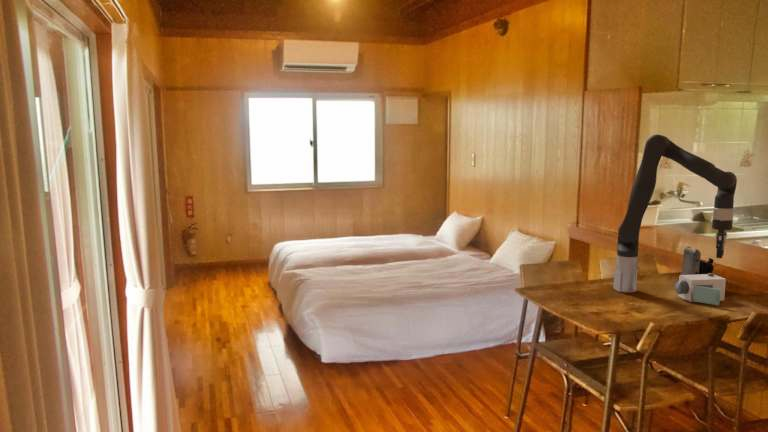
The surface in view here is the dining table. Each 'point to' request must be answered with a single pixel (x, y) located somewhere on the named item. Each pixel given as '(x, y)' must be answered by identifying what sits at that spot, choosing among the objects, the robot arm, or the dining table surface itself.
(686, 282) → the camera body
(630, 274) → the robot arm
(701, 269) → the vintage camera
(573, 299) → the dining table surface
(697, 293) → the side door
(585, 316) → the dining table surface
